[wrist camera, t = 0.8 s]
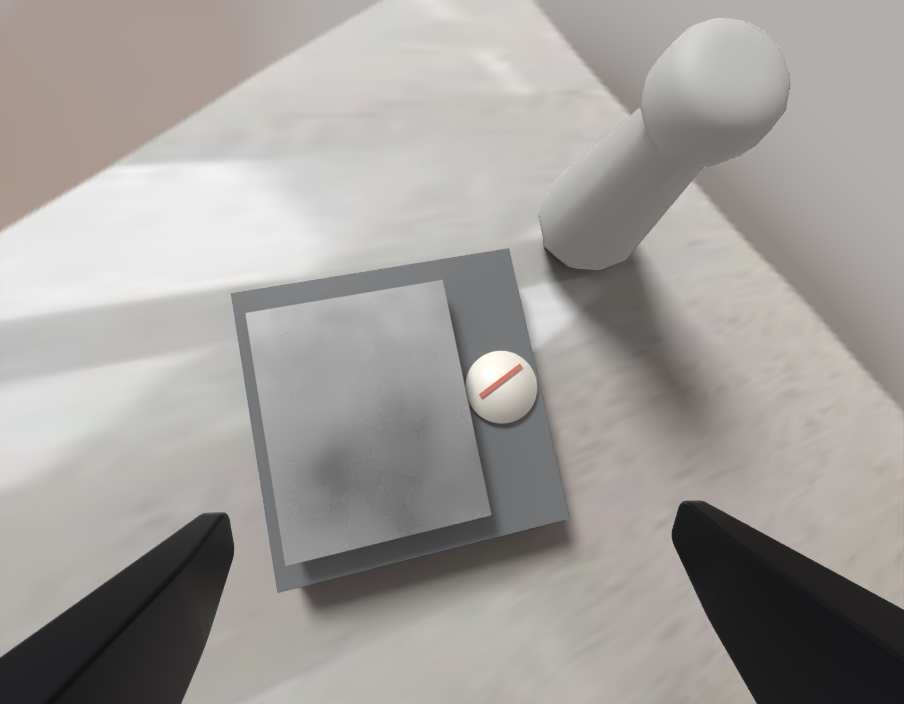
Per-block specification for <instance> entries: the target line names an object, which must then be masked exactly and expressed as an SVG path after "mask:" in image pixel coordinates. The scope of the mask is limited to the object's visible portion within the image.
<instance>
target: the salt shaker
mask: <svg viewBox="0 0 904 704" xmlns="http://www.w3.org/2000/svg"><path fill="white" fill-rule="evenodd" d="M789 89H790V74H789V71H788V68H787V65H786V61H785V58H784V54H783V52H782V51H781V50H780V48H779V47H778V46H777V45H776V43H775V42H774V41H773V39H772V38H771V37H770V35H769V34H768V33H766V32H764V31H763V30H761V29H759V28H758V27H756V26H754V25H752V24H751V23H749V22H747V21H742V20H735V19H729V18H713V19H711V20H708V21H705V22H702V23H699V24H696V25H693V26H690V27H689V28H688V29H687V30H686V31H685V32H684V33H683V34H682V35H681V36H680V37H679V38H678V39H676V41H674V43H673V44H672V45H671V46H670V47H669V48H668V49H667V50H666V51H665V52H664V53H663V54H662V56H661V57H660V58H659V59H658V60H657V61H656V63H655V64H654V66H653V67H652V69H651V70H650V72H649V74H648V75H647V78H646V81H645V85H644V89H643V94H642V99H641V104H640V108H638V109H637V110H636V111H635V112H634V113H633V114H632V115H631V116H629V117H628V118H627V119H626V120H625V121H624V122H623V123H621V124H620V125H619V126H618V127H617V128H616V129H615V130H614V131H612V132H611V133H610V134H609V135H607V136H606V137H605V138H604V139H603V140H601V141H600V142H599V143H598V144H597V145H595V146H594V147H593V148H592V149H591V150H589V151H588V152H587V153H586V154H584V155H583V156H582V157H581V158H580V159H578V160H577V161H576V162H575V163H574V164H572V165H571V166H570V167H569V168H568V169H566V170H565V171H564V172H563V173H562V174H560V175H559V177H558V178H557V179H556V180H555V181H554V182H553V183H552V184H551V185H550V186H549V188H548V189H547V190H546V191H545V194H544V197H543V201H542V205H541V209H540V213H539V222H540V226H541V231H542V236H543V243H544V247H545V248H546V249H547V250H548V251H549V252H551V253H552V254H553V255H554V256H555V257H556V258H557V259H558V260H560V261H561V262H562V263H563V264H564V265H565V266H566V267H571V268H576V269H589V270H601V269H604V268H607V267H610V266H612V265H615V264H617V263H620V262H623V261H625V260H626V259H627V258H628V257H629V255H630V254H631V253H632V252H633V251H634V250H635V248H636V247H637V246H638V245H639V244H640V242H641V241H642V240H643V239H644V238H645V236H646V235H647V234H648V233H649V232H650V230H651V229H652V228H653V227H654V226H655V224H656V223H657V222H658V221H659V220H660V218H661V217H662V216H663V215H664V214H665V212H666V211H667V210H668V209H669V208H670V206H671V205H672V204H673V203H674V202H675V200H676V199H677V198H678V197H679V196H680V194H681V193H682V192H683V191H684V190H685V188H686V187H687V186H688V185H689V184H690V182H691V181H692V180H693V179H694V178H695V176H696V175H697V174H698V173H699V171H700V170H701V169H702V168H703V167H704V166H707V167H709V166H713V165H716V164H719V163H722V162H724V161H727V160H729V159H732V158H735V157H738V156H740V155H742V154H743V153H745V152H746V151H748V150H749V149H751V148H752V147H754V146H756V145H757V144H758V143H759V141H761V139H762V138H763V137H764V136H765V135H766V134H767V133H768V132H769V131H770V130H771V129H772V127H773V126H774V125H775V124H776V122H777V121H778V120H779V118H780V117H781V116H782V115H783V113H784V112H785V110H786V106H787V100H788V94H789Z"/></svg>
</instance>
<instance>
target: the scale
mask: <svg viewBox="0 0 904 704" xmlns="http://www.w3.org/2000/svg"><path fill="white" fill-rule="evenodd" d="M438 280H443V283H444V288H445V293H446V298H447V303H448V308H449V312H450V317H451V322H452V327H453V332H454V337H455V341H456V346H457V351H458V356H459V361H460V366H461V370H462V375H463V380H464V385H465V390H466V395H467V399H468V404H469V409H470V414H471V419H472V424H473V428H474V433H475V438H476V443H477V448H478V452H479V457H480V462H481V467H482V472H483V477H484V481H485V486H486V491H487V496H488V501H489V506H490V510H491V515H490V516H486V517H482V518H478V519H474V520H470V521H466V522H462V523H458V524H454V525H450V526H446V527H442V528H438V529H434V530H430V531H426V532H422V533H418V534H413V535H409V536H405V537H401V538H397V539H393V540H389V541H385V542H381V543H377V544H373V545H369V546H365V547H361V548H357V549H353V550H349V551H345V552H341V553H337V554H332V555H328V556H324V557H320V558H316V559H312V560H308V561H304V562H300V563H296V564H292V565H288V566H285V560H284V554H283V548H282V542H281V535H280V529H279V523H278V516H277V510H276V504H275V497H274V491H273V485H272V478H271V472H270V466H269V459H268V453H267V447H266V441H265V434H264V428H263V422H262V415H261V409H260V403H259V396H258V390H257V384H256V377H255V371H254V365H253V358H252V352H251V346H250V340H249V333H248V327H247V321H246V314H245V313H249V312H255V311H260V310H266V309H272V308H278V307H284V306H290V305H296V304H302V303H308V302H314V301H320V300H326V299H332V298H337V297H343V296H349V295H355V294H361V293H367V292H373V291H379V290H385V289H391V288H397V287H403V286H409V285H414V284H420V283H426V282H432V281H438ZM231 297H232V303H233V310H234V316H235V323H236V329H237V336H238V342H239V348H240V355H241V361H242V368H243V374H244V381H245V387H246V393H247V400H248V406H249V413H250V419H251V425H252V432H253V438H254V445H255V451H256V458H257V464H258V470H259V477H260V483H261V490H262V496H263V503H264V509H265V515H266V522H267V528H268V535H269V541H270V547H271V554H272V560H273V567H274V573H275V580H276V586H277V592H278V593H279V592H283V591H287V590H291V589H295V588H299V587H303V586H307V585H311V584H315V583H319V582H323V581H327V580H330V579H334V578H338V577H342V576H346V575H350V574H354V573H358V572H362V571H366V570H370V569H374V568H378V567H382V566H386V565H389V564H393V563H397V562H401V561H405V560H409V559H413V558H417V557H421V556H425V555H429V554H433V553H437V552H441V551H444V550H448V549H452V548H456V547H460V546H464V545H468V544H472V543H476V542H480V541H484V540H488V539H492V538H496V537H500V536H503V535H507V534H511V533H515V532H519V531H523V530H527V529H531V528H535V527H539V526H543V525H547V524H551V523H555V522H559V521H562V520H566V519H570V518H569V514H568V509H567V505H566V501H565V496H564V492H563V487H562V483H561V478H560V474H559V469H558V465H557V460H556V456H555V452H554V447H553V443H552V438H551V434H550V429H549V425H548V420H547V416H546V412H545V407H544V403H543V398H542V394H541V389H540V385H539V380H538V376H537V371H536V367H535V363H534V358H533V354H532V349H531V345H530V340H529V336H528V331H527V327H526V323H525V318H524V314H523V309H522V305H521V300H520V296H519V291H518V287H517V282H516V278H515V274H514V269H513V265H512V260H511V256H510V251H509V248H508V249H502V250H496V251H490V252H484V253H477V254H471V255H465V256H459V257H453V258H447V259H440V260H434V261H428V262H422V263H416V264H410V265H403V266H397V267H391V268H385V269H379V270H373V271H366V272H360V273H354V274H348V275H342V276H336V277H329V278H323V279H317V280H311V281H305V282H299V283H293V284H286V285H280V286H274V287H268V288H262V289H256V290H249V291H243V292H237V293H231Z"/></svg>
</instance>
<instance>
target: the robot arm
mask: <svg viewBox="0 0 904 704" xmlns="http://www.w3.org/2000/svg"><path fill="white" fill-rule="evenodd" d="M672 541H673V544H674V546H675V549H676V551H677V553H678V555H679V557H680V559H681V562H682V564H683V566H684V568H685V570H686V572H687V574H688V577H689V579H690V581H691V583H692V585H693V587H694V590H695V592H696V594H697V596H698V598H699V600H700V602H701V605H702V607H703V609H704V611H705V613H706V615H707V617H708V619H709V621H710V622H711V624H712V626H713V628H714V630H715V632H716V633H717V635H718V637H719V639H720V640H721V642H722V644H723V646H724V647H725V649H726V651H727V653H728V654H729V656H730V658H731V659H732V661H733V663H734V665H735V666H736V668H737V670H738V672H739V673H740V675H741V677H742V679H743V680H744V682H745V684H746V686H747V687H748V689H749V691H750V693H751V694H752V696H753V698H754V700H755V701H756V703H757V704H904V610H903V609H902V608H900V607H898V606H896V605H894V604H892V603H890V602H889V601H887V600H885V599H883V598H881V597H879V596H878V595H876V594H874V593H872V592H870V591H868V590H866V589H865V588H863V587H861V586H859V585H857V584H855V583H854V582H852V581H850V580H848V579H846V578H844V577H843V576H841V575H839V574H837V573H835V572H833V571H831V570H830V569H828V568H826V567H824V566H822V565H820V564H819V563H817V562H815V561H813V560H811V559H809V558H808V557H806V556H804V555H802V554H800V553H798V552H796V551H795V550H793V549H791V548H789V547H787V546H785V545H784V544H782V543H780V542H778V541H776V540H774V539H773V538H771V537H769V536H767V535H765V534H763V533H762V532H760V531H758V530H756V529H754V528H752V527H750V526H749V525H747V524H745V523H743V522H741V521H739V520H738V519H736V518H734V517H732V516H730V515H728V514H727V513H725V512H723V511H721V510H719V509H717V508H715V507H714V506H712V505H710V504H708V503H706V502H704V501H699V500H698V501H684V502H682V503H681V504H680V505H679V508H678V512H677V515H676V518H675V522H674V525H673V529H672ZM233 556H234V543H233V537H232V531H231V525H230V519H229V516H228V515H227V514H226V513H224V512H215V513H203V514H201V515H199V516H198V517H197V518H195V519H194V520H192V521H191V522H190V523H188V524H187V525H185V526H184V527H183V528H181V529H180V530H178V531H177V532H175V533H174V534H173V535H171V536H170V537H168V538H167V539H166V540H164V541H163V542H161V543H160V544H159V545H157V546H156V547H154V548H153V549H152V550H150V551H149V552H147V553H146V554H145V555H143V556H142V557H140V558H139V559H138V560H136V561H135V562H133V563H132V564H131V565H129V566H128V567H126V568H125V569H124V570H122V571H121V572H119V573H118V574H117V575H115V576H114V577H112V578H111V579H110V580H108V581H107V582H105V583H104V584H103V585H101V586H100V587H98V588H97V589H95V590H94V591H93V592H91V593H90V594H88V595H87V596H86V597H84V598H83V599H81V600H80V601H79V602H77V603H76V604H74V605H73V606H72V607H70V608H69V609H67V610H66V611H65V612H63V613H62V614H60V615H59V616H58V617H56V618H55V619H53V620H52V621H51V622H49V623H48V624H46V625H45V626H44V627H42V628H41V629H39V630H38V631H37V632H35V633H34V634H32V635H31V636H30V637H28V638H27V639H25V640H24V641H23V642H21V643H20V644H18V645H17V646H15V647H14V648H13V649H11V650H10V651H8V652H7V653H6V654H4V655H3V656H1V657H0V704H181V703H182V700H183V698H184V696H185V693H186V691H187V689H188V686H189V684H190V682H191V679H192V677H193V675H194V672H195V670H196V668H197V665H198V663H199V660H200V658H201V655H202V653H203V650H204V648H205V645H206V642H207V639H208V636H209V633H210V630H211V627H212V624H213V621H214V618H215V614H216V611H217V608H218V605H219V602H220V598H221V595H222V592H223V589H224V586H225V583H226V579H227V576H228V573H229V570H230V567H231V563H232V560H233Z"/></svg>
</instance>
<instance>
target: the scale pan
mask: <svg viewBox="0 0 904 704" xmlns="http://www.w3.org/2000/svg"><path fill="white" fill-rule="evenodd" d="M245 314H246V321H247V327H248V333H249V340H250V346H251V352H252V358H253V365H254V371H255V377H256V384H257V390H258V396H259V403H260V409H261V415H262V422H263V428H264V434H265V441H266V447H267V453H268V459H269V466H270V472H271V478H272V485H273V491H274V497H275V504H276V510H277V516H278V523H279V529H280V535H281V542H282V548H283V554H284V560H285V566H288V565H292V564H296V563H300V562H304V561H308V560H312V559H316V558H320V557H324V556H328V555H332V554H337V553H341V552H345V551H349V550H353V549H357V548H361V547H365V546H369V545H373V544H377V543H381V542H385V541H389V540H393V539H397V538H401V537H405V536H409V535H413V534H418V533H422V532H426V531H430V530H434V529H438V528H442V527H446V526H450V525H454V524H458V523H462V522H466V521H470V520H474V519H478V518H482V517H486V516H490V515H491V510H490V506H489V501H488V496H487V491H486V486H485V481H484V477H483V472H482V467H481V462H480V457H479V452H478V448H477V443H476V438H475V433H474V428H473V424H472V419H471V414H470V409H469V404H468V399H467V395H466V390H465V385H464V380H463V375H462V370H461V366H460V361H459V356H458V351H457V346H456V341H455V337H454V332H453V327H452V322H451V317H450V312H449V308H448V303H447V298H446V293H445V288H444V283H443V280H438V281H432V282H426V283H420V284H414V285H409V286H403V287H397V288H391V289H385V290H379V291H373V292H367V293H361V294H355V295H349V296H343V297H337V298H332V299H326V300H320V301H314V302H308V303H302V304H296V305H290V306H284V307H278V308H272V309H266V310H260V311H255V312H249V313H245Z"/></svg>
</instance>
